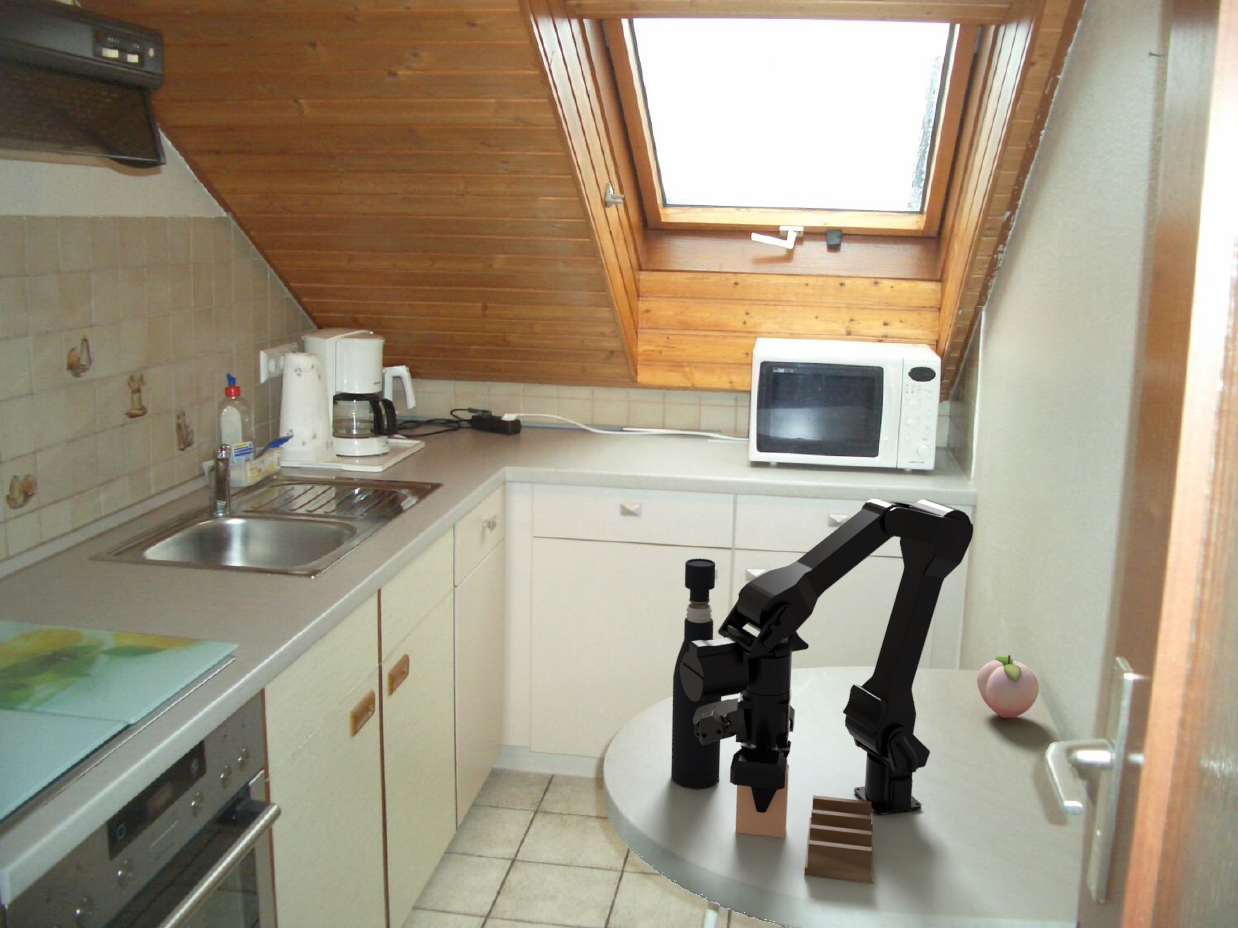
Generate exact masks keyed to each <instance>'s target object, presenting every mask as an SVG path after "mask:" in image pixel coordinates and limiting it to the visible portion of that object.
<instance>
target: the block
mask: <svg viewBox="0 0 1238 928" xmlns="http://www.w3.org/2000/svg"><path fill="white" fill-rule="evenodd" d="M789 771H790V766H789V764H788V767H787V774H786V782H785V788H783V789H780V790H777V791H776V793H775V795H774V797H773V799H772V801H771V803H770V805H769V807H768V809H767V811H766V812H765V813H760V812H757V811H756V807H755V803H754V798H753V794H752V790H751V787H749V786H740V785H736V806H735V807H736V809H735V811H736V812H735V833H740V834H748V835H755V836H756V835H757V836H766V837H767V836H768V837H774V838H780V839H781V838H783V839H785V838H786V833H787V823H788V822H787V821H788V819H787V817H788V816H787V815H788V801H789V800H788V797H789V794H788V793H789V773H790V772H789Z"/></svg>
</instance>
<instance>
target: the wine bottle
mask: <svg viewBox="0 0 1238 928" xmlns="http://www.w3.org/2000/svg"><path fill="white" fill-rule="evenodd" d="M715 583H716V563H715V561H714V560H711V559H708V558H691V559H688V560H686V561H685V562H684V587H685V588H686V589H687V590H689V599H688V602H690V603H689V604H687V607H686V614H685V615H686V617H685V619H684V622H683V623H684V627H683V629H684V631H683V633H684V634H683V641H682V644H681V646H680V649H679V652H678V654H677V657H676V661H675V665H674V670H673V676H672V711H671V712H672V713H671V716H672V718H671V721H672V723H671V725H672V727H671V770H670V771H671V773H670V774H671V775H670V777H671V779H672V782H674V783H675V784H676V785H677V786H680V787H683V788H686V789H694V790H701V789H702V790H703V789H708V788H711V787H713V786H715V785H716V784H717V783H719V780H720V768H721V767H720V763H721V761H720V760H721V740H717V741H713V742H711V744H707V745H702V744H701V743H700V740H699V738H697V737H695V735H694V733H695V726H694V723H693V718H694V715H695V712H696V710H697V709H698V708H699V707H701V706H703V705H707V704H711V703H715V702H719V701H722V697H717V698H712V699H706V700H700V701H695V702H694V701H692V700H690V699H689V698H688V696H687V695H686V693H685V691H684V689H683V686H682V682H681V677H680V663H682V659H683V656H684V655H685V653H686V652H689V651H690V642H691V641H697V640H703V641H708V640H714V619H713V618H712V616H713V614H712V611H713V609H712V606H711V604H710V591H711V590H714V589H715V586H716V585H715Z"/></svg>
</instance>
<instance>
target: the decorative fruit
mask: <svg viewBox="0 0 1238 928" xmlns="http://www.w3.org/2000/svg"><path fill="white" fill-rule="evenodd" d="M976 684H977V688H978V690H979V693H980V696H981V698H982V700H983V702H984V703H985V704H986V705H987V707H989V709H991V711H993V712H994V713H995V714H996V715H998V716H999V717H1000V718H1003V719H1010V718H1014V717H1019V716H1021V715H1023V714H1025V713H1026V712H1027V711H1029V709H1031V707H1032V706H1033V705H1035V702H1036V700H1037V699H1038V695H1039V692H1040V691H1039V690H1040V686H1039V681H1038V679H1037V677H1036V675H1035V673H1034V672H1033V671H1032V670H1031V669H1030V668H1029V667H1028V666H1027V665H1025V664H1023V663H1022V662H1019V661H1018V660H1017V661H1016V660H1014V659H1012V658H1011V654H1008V655H1007V656H1005V655H1003V656H1001V655H997V656H995V657H994V660H991V661H989V662H988V663H986V664H984V665H983V666H982V668H981V669H980V670H979V672H978V673H977V676H976Z"/></svg>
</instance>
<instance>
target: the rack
mask: <svg viewBox="0 0 1238 928" xmlns="http://www.w3.org/2000/svg"><path fill="white" fill-rule="evenodd" d="M811 808H812V809H811V813H810V817H809V819H808V820H809V821H808V831H807V841H806V852H805V859H804V860H805V863H804V872H803V873H804V875H803V876H806V877H816V878H821V879H822V878H823V879H831V880H838V881H839V880H840V881H845V882H846V881H847V882H855V883H864V884H874V836H873V835H874V828H873V827H874V825H873V824H872V820H873V819H872V810H871V801H863V800H861V799H853V798H852V799H851V798H843V797H834V796H824V795H816V794H815V795H814V794H813V795H812V807H811Z"/></svg>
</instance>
